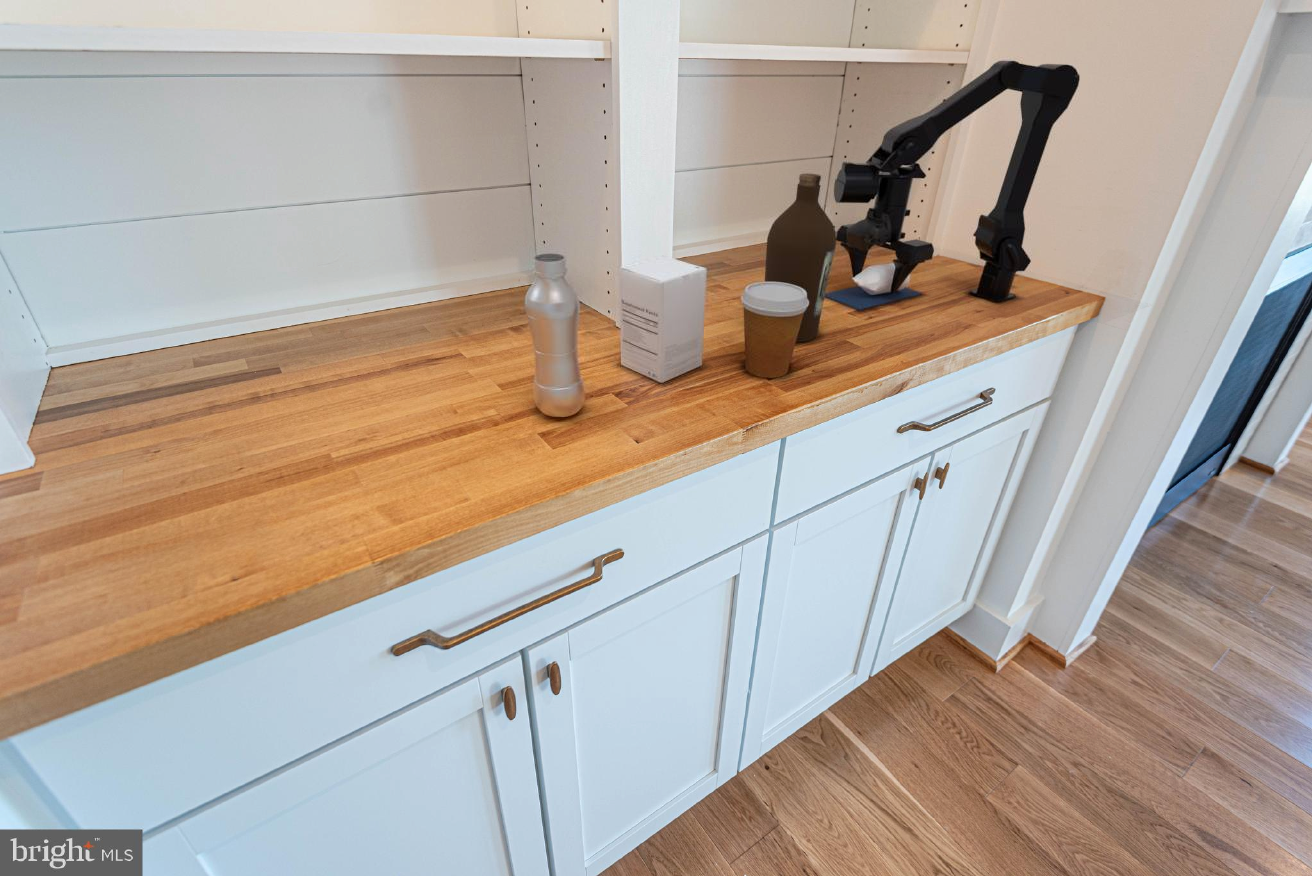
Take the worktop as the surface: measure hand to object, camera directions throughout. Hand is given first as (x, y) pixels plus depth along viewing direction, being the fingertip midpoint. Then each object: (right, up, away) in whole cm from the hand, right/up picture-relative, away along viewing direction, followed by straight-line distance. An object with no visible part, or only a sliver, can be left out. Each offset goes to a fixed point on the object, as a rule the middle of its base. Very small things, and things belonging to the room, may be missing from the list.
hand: (873, 286), depth 124 cm
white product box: (-42, -19, -29) cm, 54 cm away
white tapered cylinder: (0, -1, +1) cm, 2 cm away
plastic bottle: (-55, -26, -41) cm, 74 cm away
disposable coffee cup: (-26, -19, -29) cm, 44 cm away
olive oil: (-20, -12, -17) cm, 29 cm away
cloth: (0, -1, +1) cm, 2 cm away
